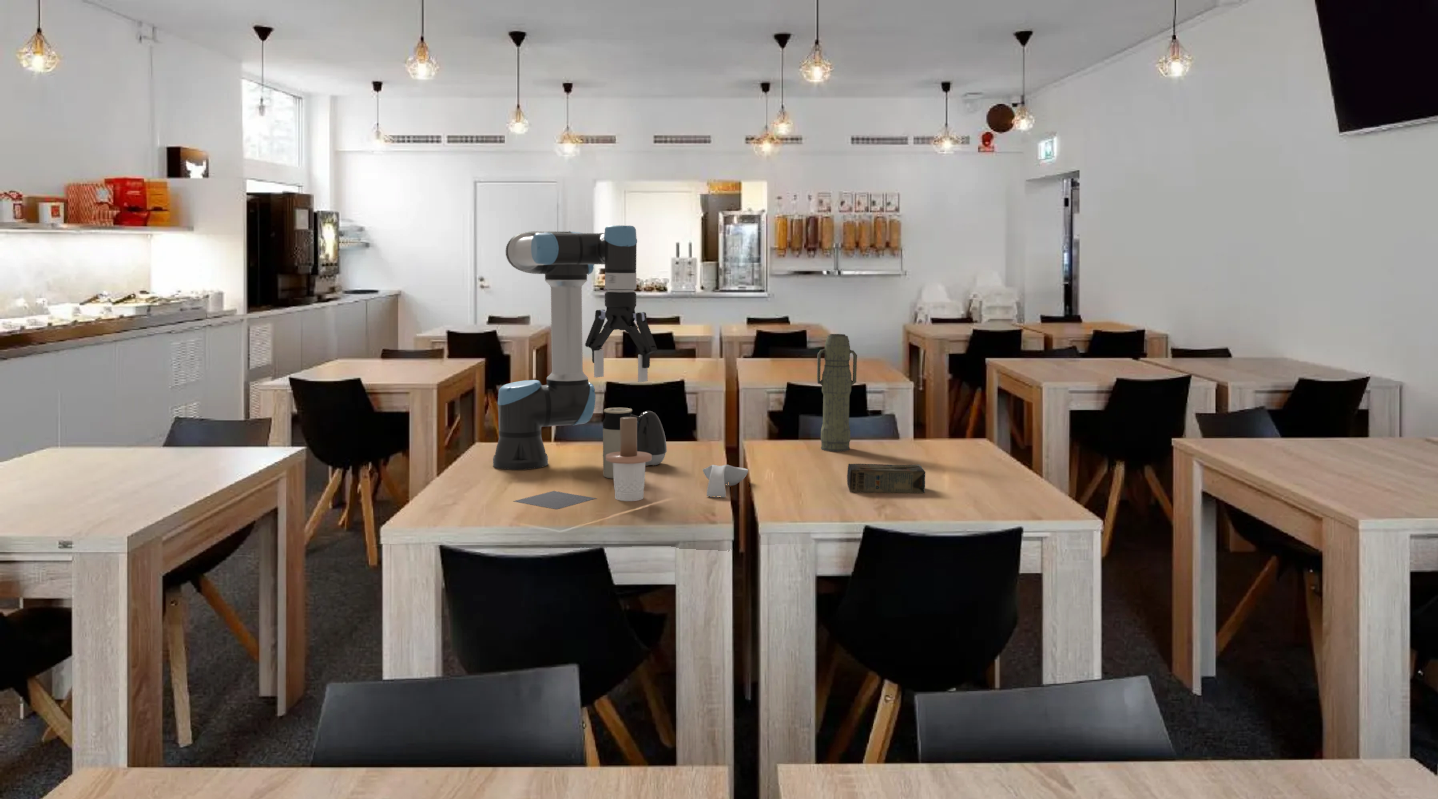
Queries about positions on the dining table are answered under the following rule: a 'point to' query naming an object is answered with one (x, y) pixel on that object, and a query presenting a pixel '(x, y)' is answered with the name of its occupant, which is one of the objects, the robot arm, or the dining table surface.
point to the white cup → (629, 481)
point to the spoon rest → (722, 478)
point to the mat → (555, 500)
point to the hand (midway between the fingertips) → (620, 379)
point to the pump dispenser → (651, 437)
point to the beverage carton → (885, 478)
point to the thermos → (836, 392)
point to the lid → (628, 444)
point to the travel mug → (612, 435)
